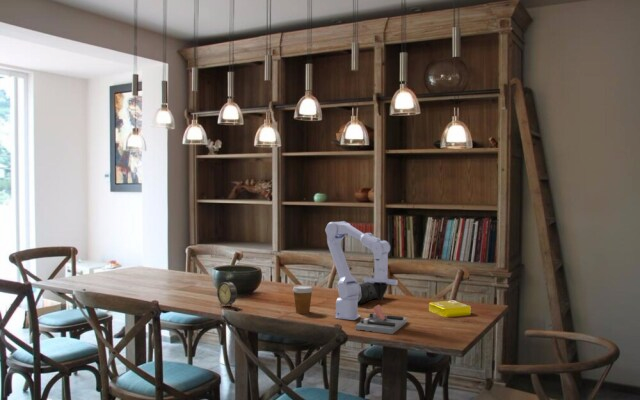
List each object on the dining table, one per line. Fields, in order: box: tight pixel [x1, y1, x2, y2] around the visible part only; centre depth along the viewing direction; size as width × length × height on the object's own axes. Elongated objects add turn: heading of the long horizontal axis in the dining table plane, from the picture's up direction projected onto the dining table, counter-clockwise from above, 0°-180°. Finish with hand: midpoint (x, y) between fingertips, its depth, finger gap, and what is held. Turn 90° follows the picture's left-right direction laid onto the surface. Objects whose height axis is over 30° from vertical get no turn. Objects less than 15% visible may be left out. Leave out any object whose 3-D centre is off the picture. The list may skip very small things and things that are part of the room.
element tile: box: [428, 299, 472, 318], centre depth 272 cm, size 15×15×5 cm
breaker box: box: [355, 311, 408, 335], centre depth 246 cm, size 16×22×4 cm
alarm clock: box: [216, 273, 238, 309], centre depth 284 cm, size 11×5×16 cm, turn 47°
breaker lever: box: [372, 304, 385, 321], centre depth 247 cm, size 1×5×6 cm, turn 156°
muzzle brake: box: [358, 281, 388, 305], centre depth 298 cm, size 10×28×10 cm, turn 147°
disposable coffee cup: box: [292, 284, 314, 315], centre depth 272 cm, size 10×10×12 cm
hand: (380, 300), depth 250 cm, fingers closed
